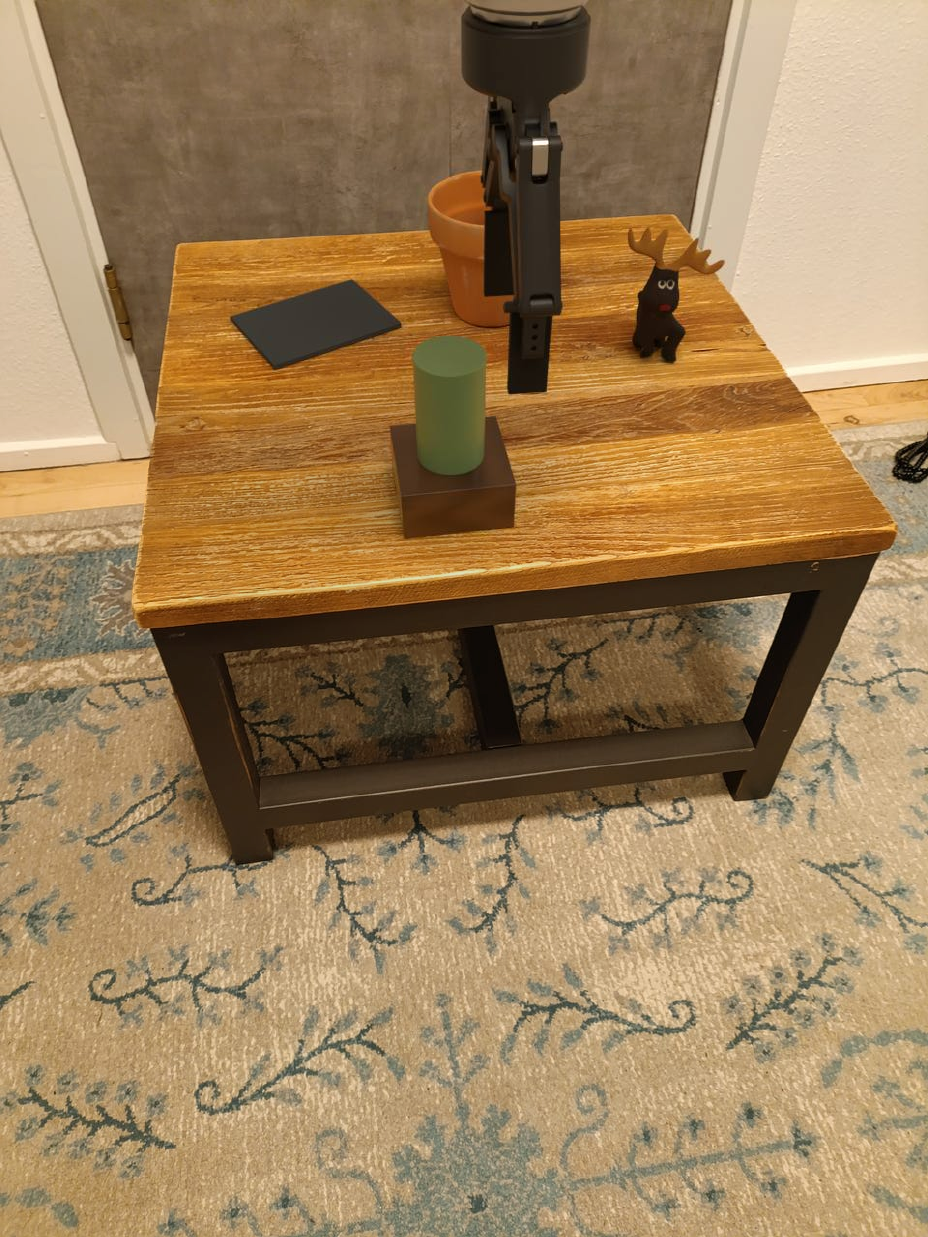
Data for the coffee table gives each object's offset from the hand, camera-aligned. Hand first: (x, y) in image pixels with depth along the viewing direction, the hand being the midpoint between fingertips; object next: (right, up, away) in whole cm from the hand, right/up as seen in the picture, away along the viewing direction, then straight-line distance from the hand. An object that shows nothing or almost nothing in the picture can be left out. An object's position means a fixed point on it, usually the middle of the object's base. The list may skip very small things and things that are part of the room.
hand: (512, 339), depth 67 cm
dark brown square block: (-5, -10, +16) cm, 19 cm away
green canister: (-5, -6, +13) cm, 15 cm away
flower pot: (-1, +16, +39) cm, 42 cm away
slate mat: (-21, +13, +36) cm, 44 cm away
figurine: (+18, +8, +32) cm, 38 cm away
